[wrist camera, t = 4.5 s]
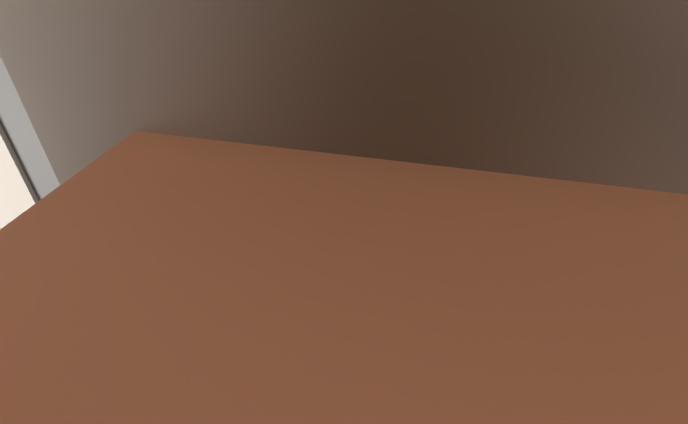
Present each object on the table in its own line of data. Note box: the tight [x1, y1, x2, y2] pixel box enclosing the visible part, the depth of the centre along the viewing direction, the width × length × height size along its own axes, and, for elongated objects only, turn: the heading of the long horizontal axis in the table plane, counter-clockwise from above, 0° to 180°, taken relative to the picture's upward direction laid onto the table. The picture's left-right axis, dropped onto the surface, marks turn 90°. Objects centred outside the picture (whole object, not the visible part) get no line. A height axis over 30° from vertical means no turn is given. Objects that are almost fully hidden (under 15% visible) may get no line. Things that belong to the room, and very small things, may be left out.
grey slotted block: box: [0, 0, 688, 194], centre depth 7 cm, size 6×10×4 cm, turn 8°
